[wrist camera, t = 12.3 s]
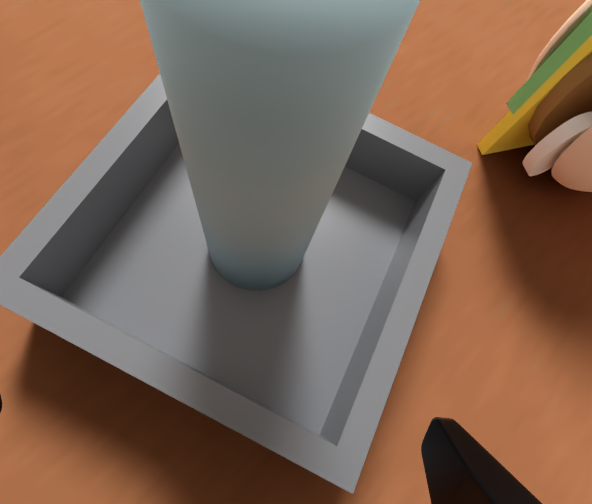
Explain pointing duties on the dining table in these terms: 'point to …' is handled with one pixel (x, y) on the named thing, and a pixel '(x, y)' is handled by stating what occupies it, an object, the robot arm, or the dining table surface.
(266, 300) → the bin
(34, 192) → the dining table surface
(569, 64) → the hamburger
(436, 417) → the robot arm
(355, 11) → the pale blue tapered cylinder
